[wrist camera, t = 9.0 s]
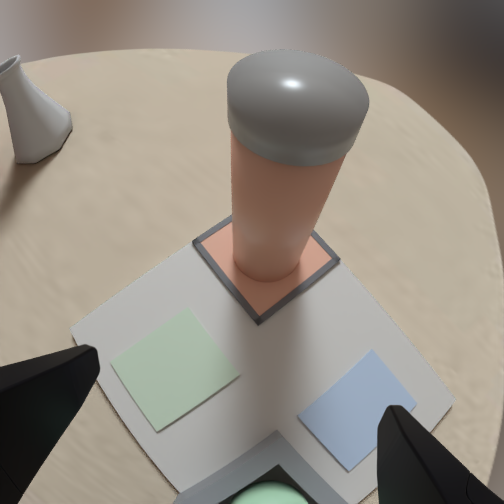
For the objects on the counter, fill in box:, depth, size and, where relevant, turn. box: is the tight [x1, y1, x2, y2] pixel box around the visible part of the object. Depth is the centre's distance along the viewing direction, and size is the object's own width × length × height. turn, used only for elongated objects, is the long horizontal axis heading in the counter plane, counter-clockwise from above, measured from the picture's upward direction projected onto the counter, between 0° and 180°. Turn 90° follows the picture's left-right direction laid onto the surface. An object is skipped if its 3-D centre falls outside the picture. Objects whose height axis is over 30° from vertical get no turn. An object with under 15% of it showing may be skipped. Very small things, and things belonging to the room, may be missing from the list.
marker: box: [227, 49, 369, 282], centre depth 14 cm, size 4×4×12 cm
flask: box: [0, 55, 73, 163], centre depth 21 cm, size 7×7×10 cm
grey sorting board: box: [69, 215, 456, 504], centre depth 16 cm, size 17×20×3 cm
